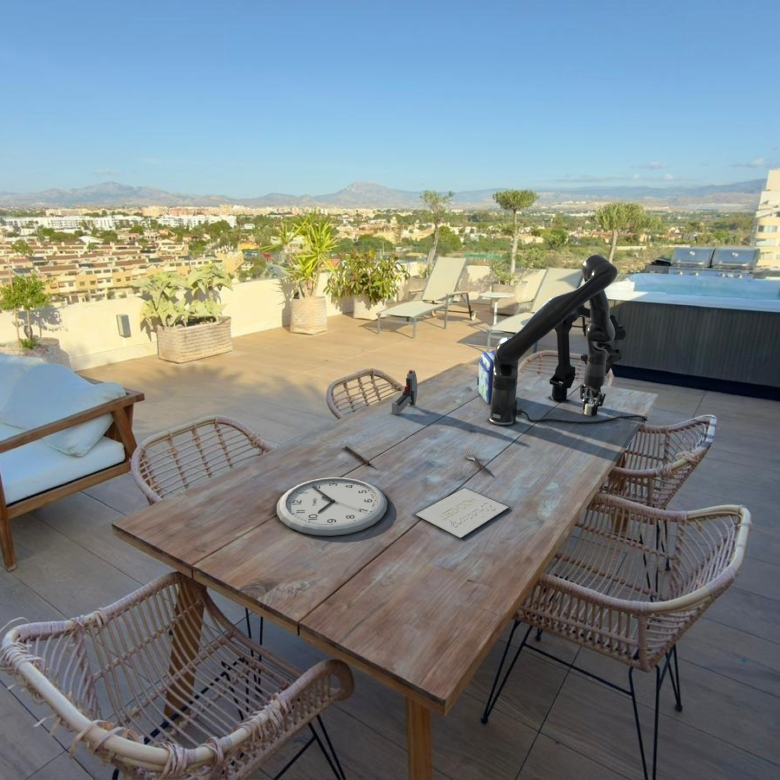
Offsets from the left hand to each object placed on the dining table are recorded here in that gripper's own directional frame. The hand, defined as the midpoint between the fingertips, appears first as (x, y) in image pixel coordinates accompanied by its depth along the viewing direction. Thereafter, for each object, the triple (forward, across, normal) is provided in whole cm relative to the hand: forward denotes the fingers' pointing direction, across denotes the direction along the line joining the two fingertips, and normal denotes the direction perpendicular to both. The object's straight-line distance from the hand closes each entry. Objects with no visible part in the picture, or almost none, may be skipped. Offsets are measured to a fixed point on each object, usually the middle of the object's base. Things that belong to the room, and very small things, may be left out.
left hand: (589, 412), depth 217 cm
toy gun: (+1, +22, +74) cm, 77 cm away
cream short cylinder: (+1, 0, 0) cm, 1 cm away
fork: (+1, -34, +66) cm, 74 cm away
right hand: (-9, +23, -20) cm, 32 cm away
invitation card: (+1, -60, +82) cm, 102 cm away
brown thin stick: (+1, -19, +103) cm, 105 cm away
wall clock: (+1, -49, +116) cm, 125 cm away
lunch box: (+1, +27, +32) cm, 41 cm away
